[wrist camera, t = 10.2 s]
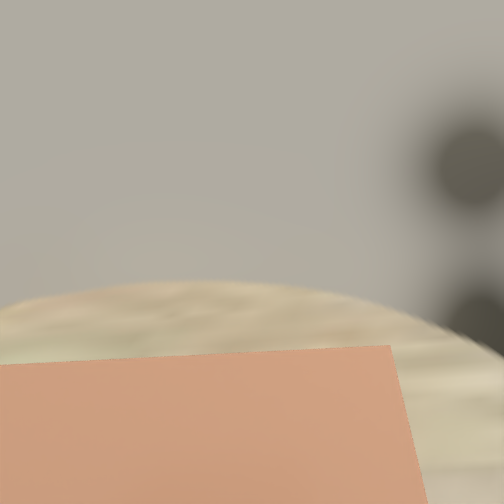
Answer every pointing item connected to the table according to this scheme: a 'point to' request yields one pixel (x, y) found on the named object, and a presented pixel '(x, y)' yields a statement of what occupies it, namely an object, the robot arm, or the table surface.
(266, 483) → the peach colored post
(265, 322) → the table surface
